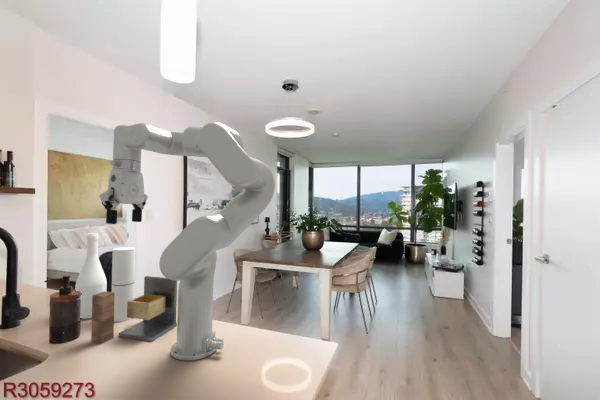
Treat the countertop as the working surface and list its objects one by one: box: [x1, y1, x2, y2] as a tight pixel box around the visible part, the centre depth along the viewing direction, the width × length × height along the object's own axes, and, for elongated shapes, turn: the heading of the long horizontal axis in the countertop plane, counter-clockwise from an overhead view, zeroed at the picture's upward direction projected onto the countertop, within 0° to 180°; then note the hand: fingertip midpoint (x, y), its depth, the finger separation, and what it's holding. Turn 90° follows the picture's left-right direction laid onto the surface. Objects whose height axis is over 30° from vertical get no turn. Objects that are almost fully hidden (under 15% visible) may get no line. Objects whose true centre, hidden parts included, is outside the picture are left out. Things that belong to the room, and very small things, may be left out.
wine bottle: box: [74, 232, 108, 320], centre depth 111 cm, size 10×10×30 cm
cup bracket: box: [118, 275, 178, 343], centre depth 98 cm, size 12×12×16 cm
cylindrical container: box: [111, 246, 136, 323], centre depth 109 cm, size 7×7×25 cm
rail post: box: [90, 291, 115, 345], centre depth 92 cm, size 4×4×14 cm
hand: (124, 222), depth 92 cm, fingers open, 9 cm apart
